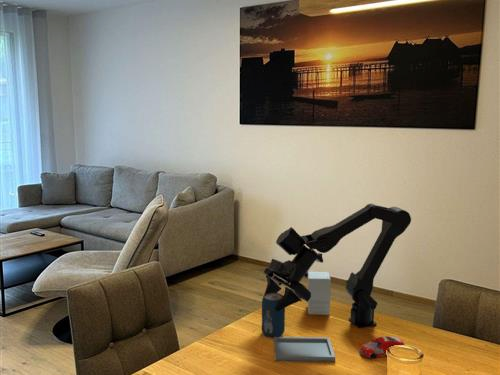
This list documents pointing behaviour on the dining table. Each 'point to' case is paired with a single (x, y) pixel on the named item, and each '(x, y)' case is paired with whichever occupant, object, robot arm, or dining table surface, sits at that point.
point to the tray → (303, 349)
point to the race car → (379, 346)
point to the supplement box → (319, 293)
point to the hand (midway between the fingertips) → (269, 306)
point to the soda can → (272, 316)
